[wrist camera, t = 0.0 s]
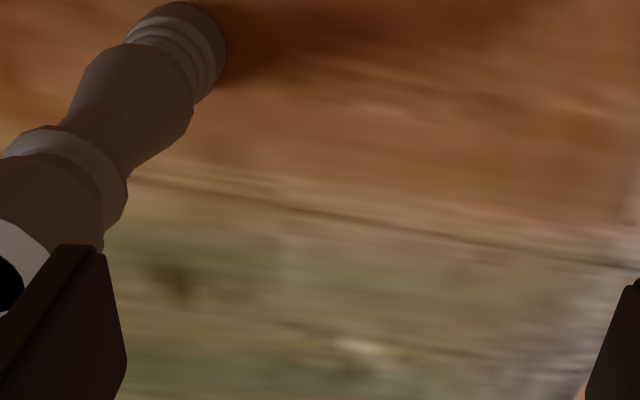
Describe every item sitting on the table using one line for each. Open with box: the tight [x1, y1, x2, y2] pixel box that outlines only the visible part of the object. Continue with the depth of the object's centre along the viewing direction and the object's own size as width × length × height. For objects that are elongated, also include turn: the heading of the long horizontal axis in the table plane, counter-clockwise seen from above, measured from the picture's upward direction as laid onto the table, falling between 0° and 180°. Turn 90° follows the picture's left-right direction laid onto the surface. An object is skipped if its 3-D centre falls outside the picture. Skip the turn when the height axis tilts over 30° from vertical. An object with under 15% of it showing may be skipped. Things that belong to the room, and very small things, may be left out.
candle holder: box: [0, 2, 226, 318], centre depth 30 cm, size 6×6×25 cm
